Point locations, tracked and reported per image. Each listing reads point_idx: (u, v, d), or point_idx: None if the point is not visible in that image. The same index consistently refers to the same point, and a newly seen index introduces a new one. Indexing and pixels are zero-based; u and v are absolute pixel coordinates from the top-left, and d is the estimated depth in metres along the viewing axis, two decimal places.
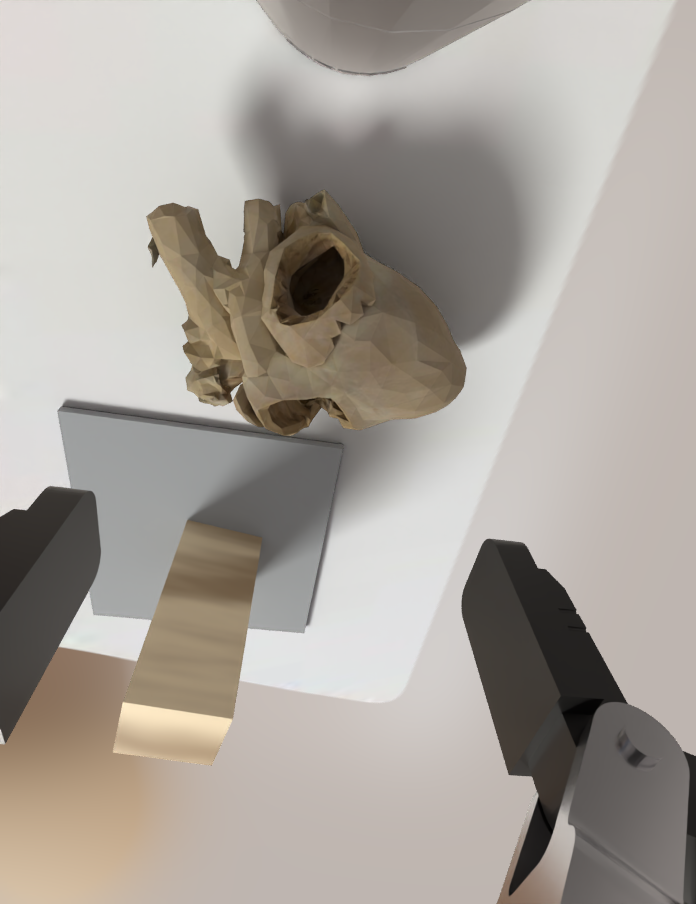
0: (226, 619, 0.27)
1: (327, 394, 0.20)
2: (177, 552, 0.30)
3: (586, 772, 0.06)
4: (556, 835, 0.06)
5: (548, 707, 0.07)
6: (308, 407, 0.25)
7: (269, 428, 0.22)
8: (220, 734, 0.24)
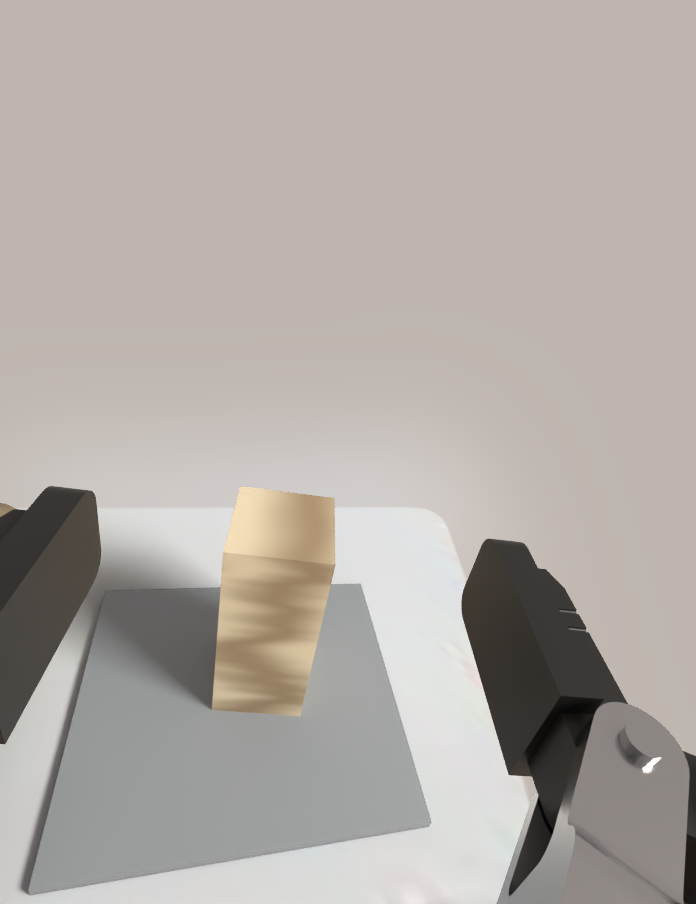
0: None
1: None
2: (214, 677, 0.27)
3: (586, 772, 0.06)
4: (556, 835, 0.06)
5: (548, 707, 0.07)
6: None
7: None
8: (270, 492, 0.26)
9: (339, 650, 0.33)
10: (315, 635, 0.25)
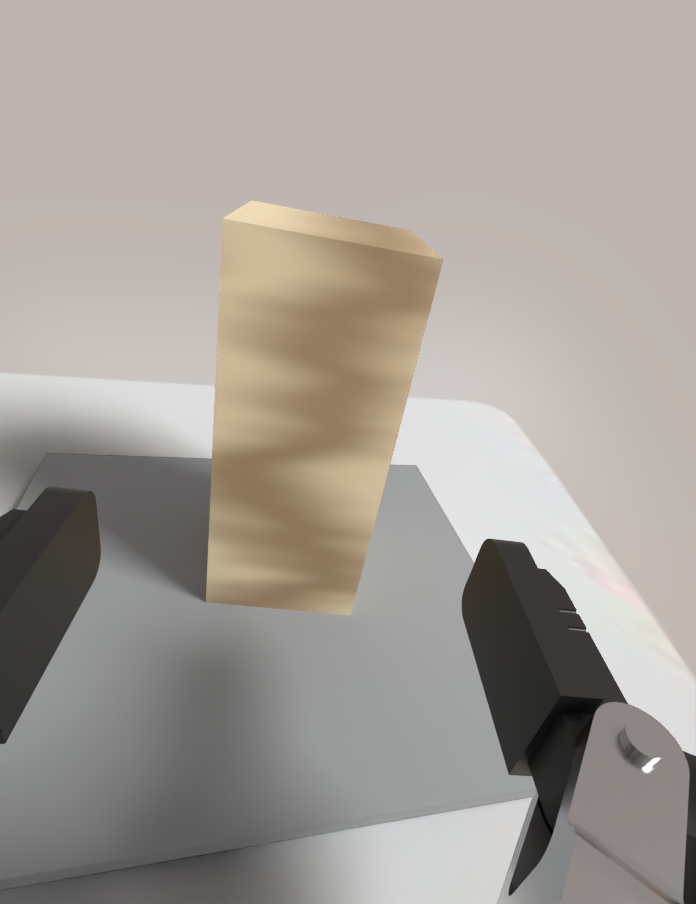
0: None
1: None
2: (209, 536, 0.15)
3: (586, 772, 0.06)
4: (556, 835, 0.06)
5: (548, 707, 0.07)
6: None
7: None
8: (304, 211, 0.15)
9: (399, 535, 0.22)
10: (389, 441, 0.14)
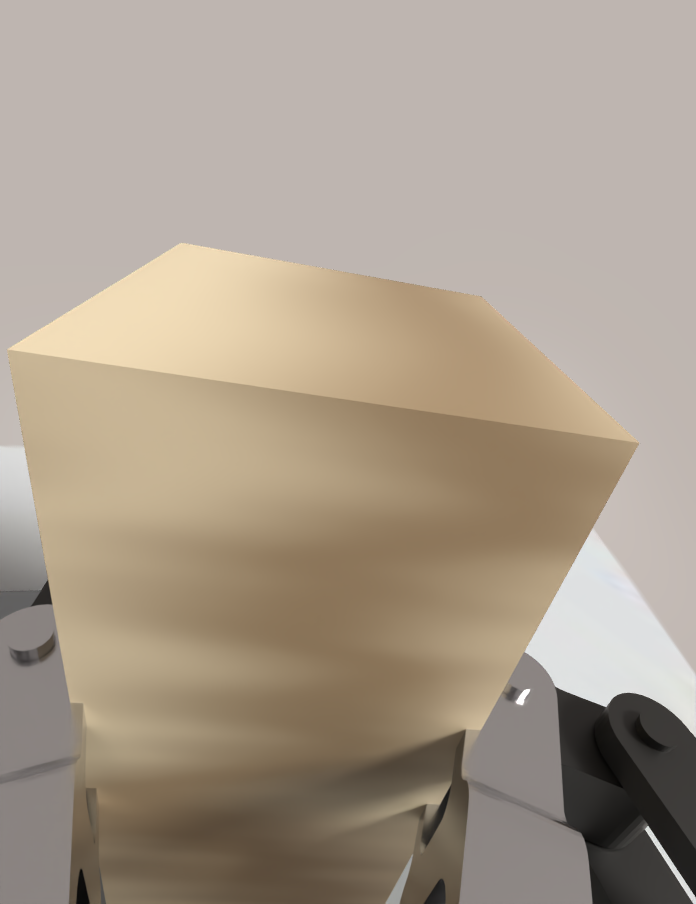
0: None
1: None
2: None
3: None
4: (453, 790, 0.06)
5: None
6: None
7: None
8: (281, 263, 0.08)
9: None
10: (454, 755, 0.07)
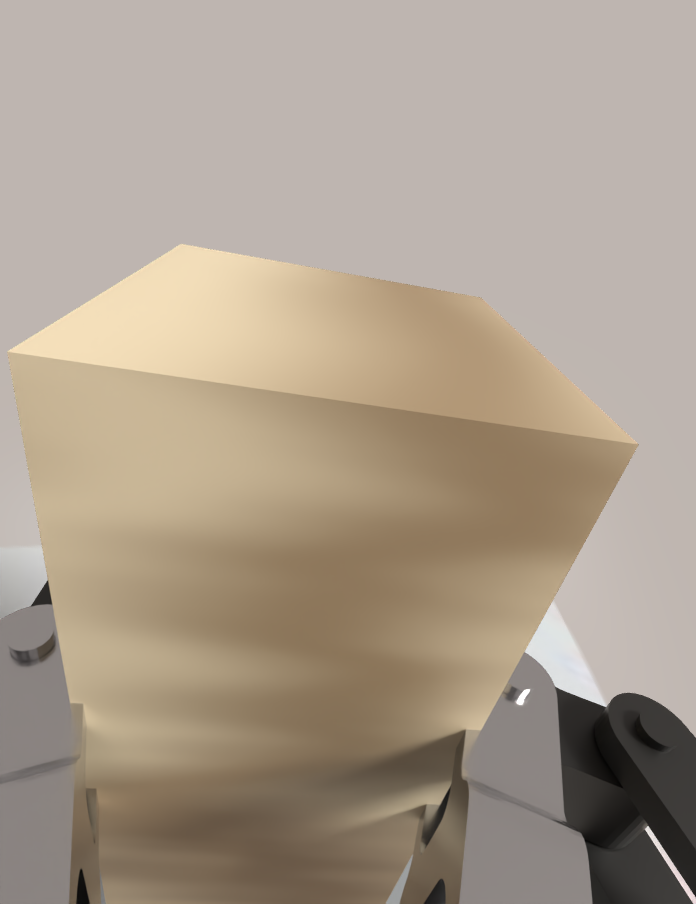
0: None
1: None
2: None
3: None
4: (453, 790, 0.06)
5: None
6: None
7: None
8: (281, 265, 0.08)
9: None
10: (454, 756, 0.07)
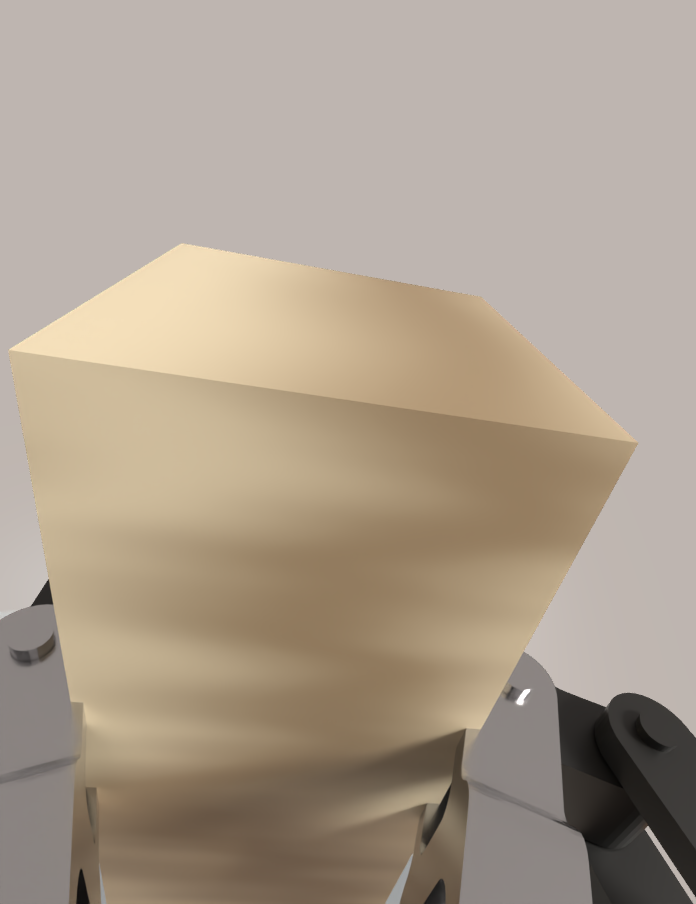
0: None
1: None
2: None
3: None
4: (453, 790, 0.06)
5: None
6: None
7: None
8: (281, 264, 0.08)
9: None
10: (454, 755, 0.07)
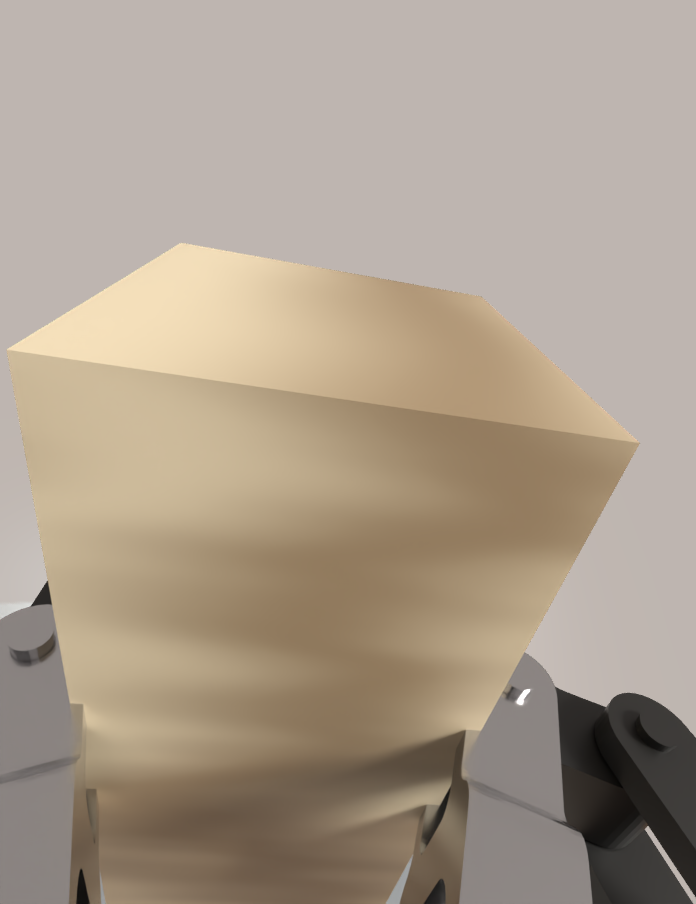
0: None
1: None
2: None
3: None
4: (453, 790, 0.06)
5: None
6: None
7: None
8: (281, 263, 0.08)
9: None
10: (454, 756, 0.07)
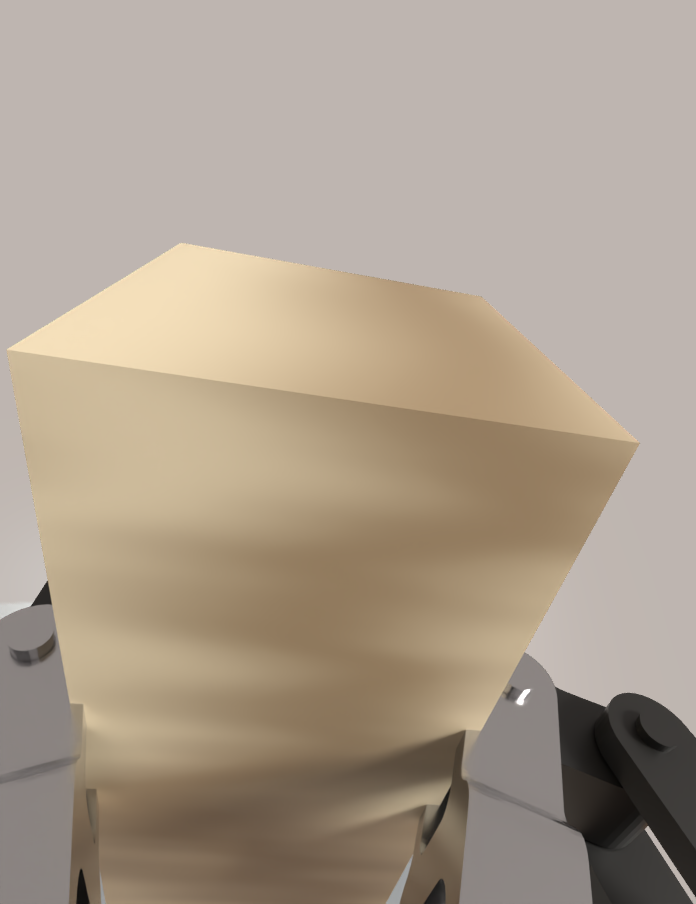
0: None
1: None
2: None
3: None
4: (453, 790, 0.06)
5: None
6: None
7: None
8: (281, 263, 0.08)
9: None
10: (454, 756, 0.07)
